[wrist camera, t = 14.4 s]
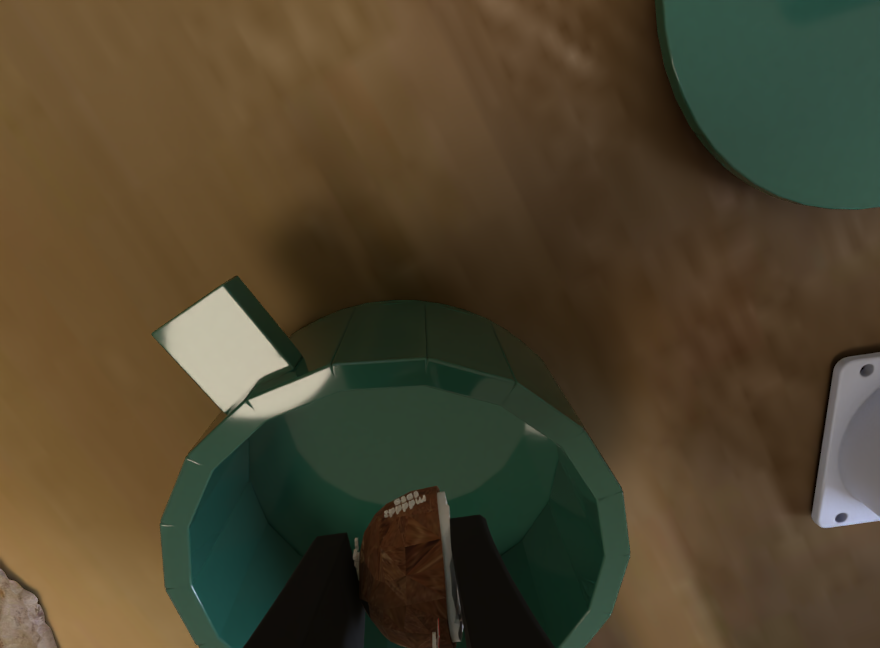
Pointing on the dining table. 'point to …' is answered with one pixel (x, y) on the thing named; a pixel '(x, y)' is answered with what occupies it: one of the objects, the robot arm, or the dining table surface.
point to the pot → (379, 458)
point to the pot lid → (782, 92)
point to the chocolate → (411, 572)
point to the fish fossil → (21, 618)
